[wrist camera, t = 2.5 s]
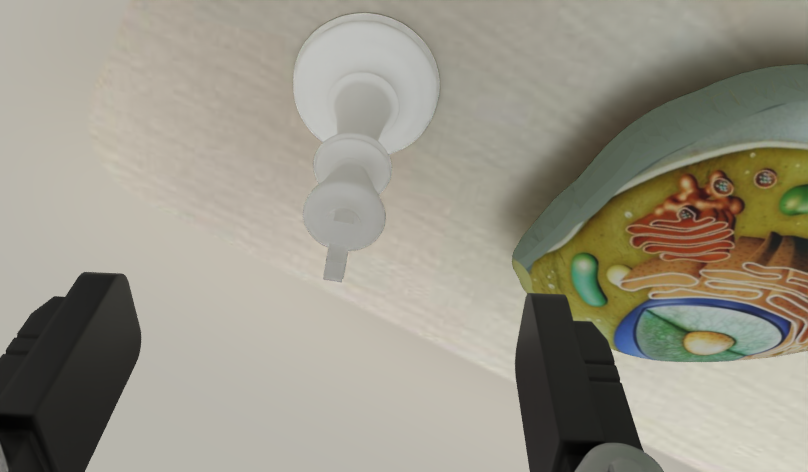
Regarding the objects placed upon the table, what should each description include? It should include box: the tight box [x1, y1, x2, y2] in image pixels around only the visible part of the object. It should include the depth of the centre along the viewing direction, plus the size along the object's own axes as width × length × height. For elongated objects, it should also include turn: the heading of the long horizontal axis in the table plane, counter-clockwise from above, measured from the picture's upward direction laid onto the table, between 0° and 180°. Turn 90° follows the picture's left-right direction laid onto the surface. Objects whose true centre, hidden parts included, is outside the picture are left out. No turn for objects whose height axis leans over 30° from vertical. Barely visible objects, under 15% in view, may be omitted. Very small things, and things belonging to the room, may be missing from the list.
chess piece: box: [293, 13, 440, 282], centre depth 19 cm, size 5×5×10 cm
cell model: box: [512, 64, 808, 362], centre depth 23 cm, size 11×8×15 cm
